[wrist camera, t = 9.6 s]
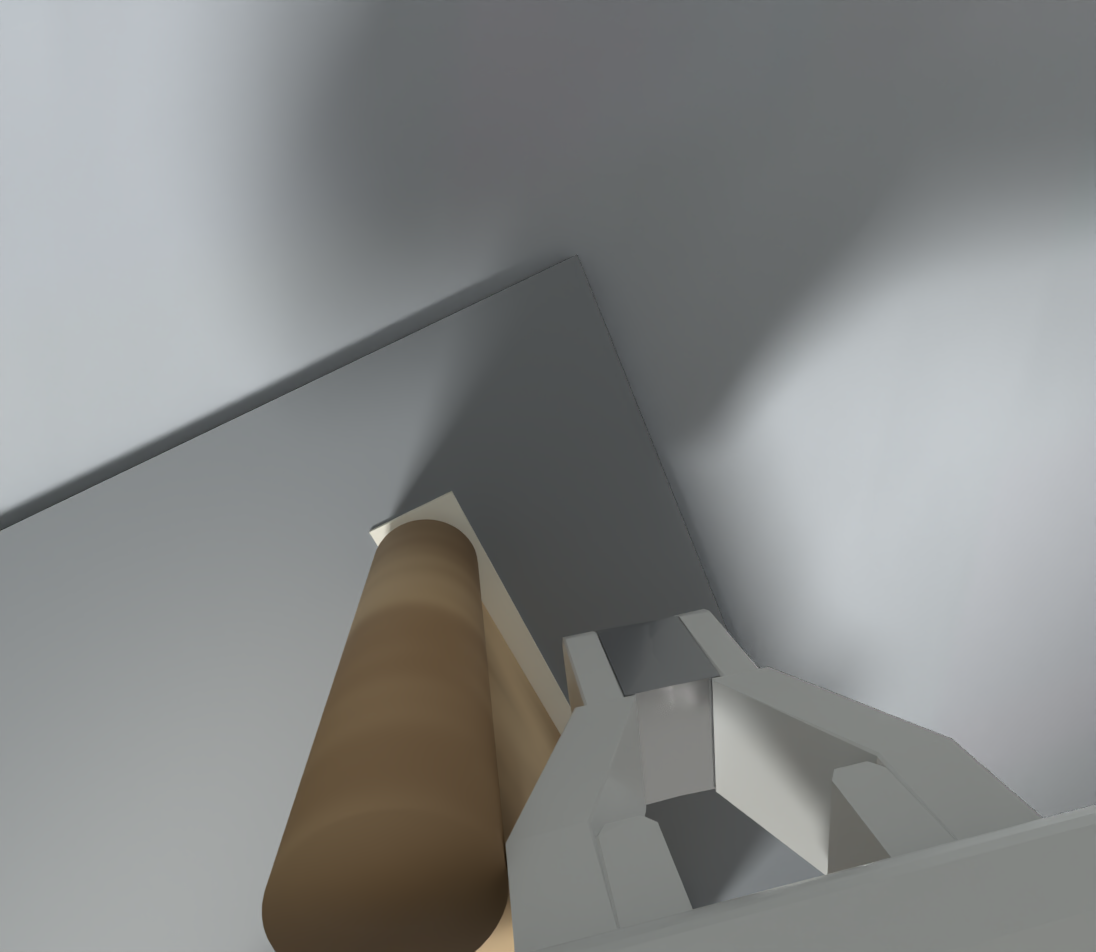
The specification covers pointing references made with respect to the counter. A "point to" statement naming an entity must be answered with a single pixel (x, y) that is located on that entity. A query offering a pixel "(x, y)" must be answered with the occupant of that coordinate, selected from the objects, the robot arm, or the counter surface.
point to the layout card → (318, 615)
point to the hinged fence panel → (412, 768)
